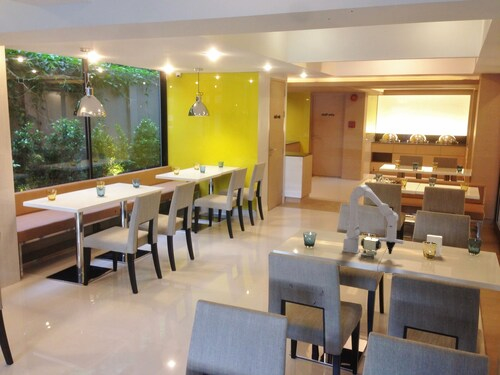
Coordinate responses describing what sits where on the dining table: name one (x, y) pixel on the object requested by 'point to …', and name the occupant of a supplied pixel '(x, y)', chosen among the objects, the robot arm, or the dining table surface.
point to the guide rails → (367, 255)
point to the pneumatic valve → (370, 245)
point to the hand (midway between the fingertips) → (390, 253)
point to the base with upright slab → (436, 240)
